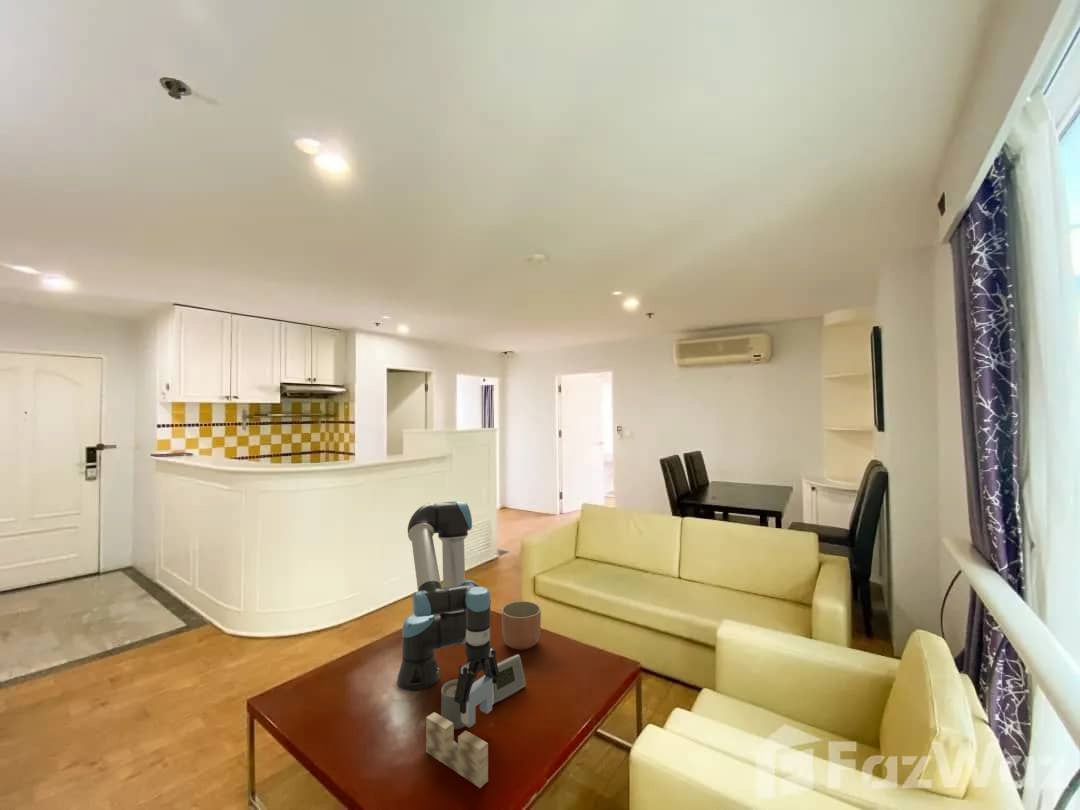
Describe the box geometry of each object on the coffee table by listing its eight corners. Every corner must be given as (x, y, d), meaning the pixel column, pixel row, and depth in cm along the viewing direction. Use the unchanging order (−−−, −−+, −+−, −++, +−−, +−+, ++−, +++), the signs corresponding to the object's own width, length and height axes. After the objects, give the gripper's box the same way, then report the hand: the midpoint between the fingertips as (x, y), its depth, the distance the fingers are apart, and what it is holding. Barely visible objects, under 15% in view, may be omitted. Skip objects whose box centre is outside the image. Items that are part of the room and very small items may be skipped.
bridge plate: (462, 723, 136) (462, 690, 136) (485, 705, 144) (485, 674, 144) (469, 727, 134) (469, 694, 134) (492, 709, 142) (492, 678, 142)
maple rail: (426, 751, 132) (426, 717, 133) (434, 745, 135) (434, 711, 135) (480, 788, 119) (480, 749, 120) (488, 780, 122) (487, 743, 122)
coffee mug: (474, 725, 144) (474, 693, 144) (442, 732, 141) (442, 699, 141) (468, 700, 157) (468, 671, 157) (439, 706, 154) (439, 676, 154)
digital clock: (490, 707, 153) (490, 675, 153) (479, 693, 160) (478, 663, 161) (531, 691, 161) (530, 661, 162) (518, 679, 169) (518, 650, 169)
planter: (540, 654, 187) (540, 617, 187) (499, 654, 187) (499, 617, 187) (541, 635, 204) (541, 600, 204) (503, 634, 204) (503, 600, 204)
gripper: (459, 660, 128) (458, 739, 128) (510, 629, 146) (510, 698, 146) (441, 652, 133) (441, 727, 132) (493, 622, 151) (493, 689, 151)
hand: (477, 712), depth 139 cm, fingers closed on bridge plate, 10 cm apart
